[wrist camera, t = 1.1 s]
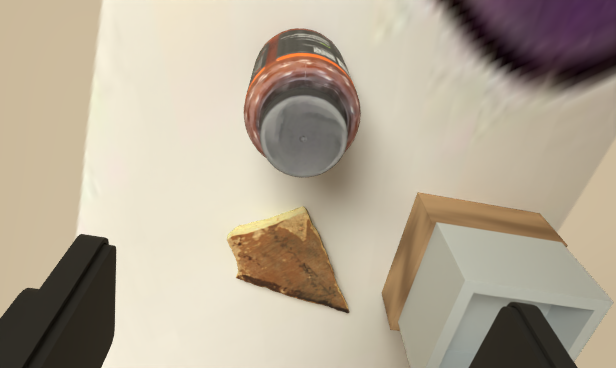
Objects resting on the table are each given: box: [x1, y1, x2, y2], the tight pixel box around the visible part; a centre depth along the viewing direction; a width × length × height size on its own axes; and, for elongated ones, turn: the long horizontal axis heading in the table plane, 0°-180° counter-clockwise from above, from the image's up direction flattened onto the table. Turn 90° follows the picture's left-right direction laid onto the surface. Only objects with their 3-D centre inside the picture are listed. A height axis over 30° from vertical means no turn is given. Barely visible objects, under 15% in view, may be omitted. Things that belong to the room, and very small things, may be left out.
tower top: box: [398, 222, 613, 368], centre depth 31 cm, size 9×9×6 cm
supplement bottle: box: [244, 29, 361, 177], centre depth 26 cm, size 6×6×11 cm
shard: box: [227, 207, 349, 313], centre depth 38 cm, size 11×8×2 cm
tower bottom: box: [382, 192, 567, 331], centre depth 36 cm, size 10×10×4 cm
